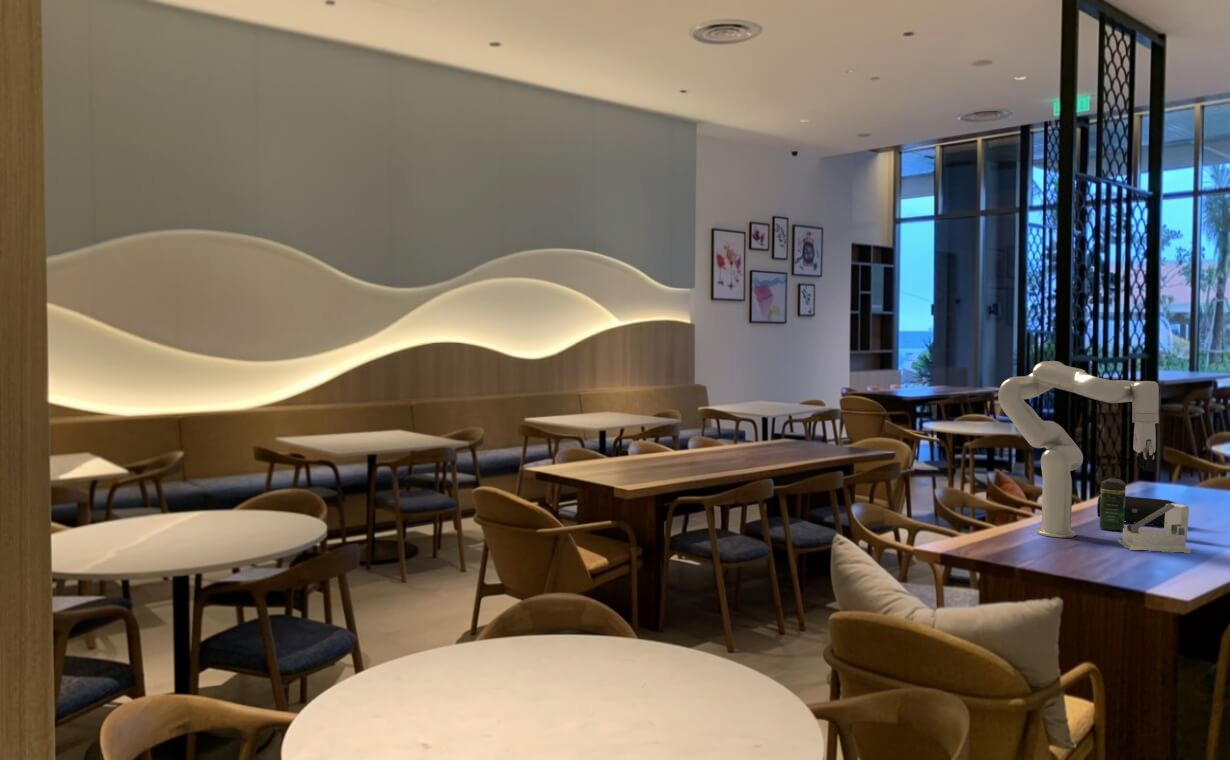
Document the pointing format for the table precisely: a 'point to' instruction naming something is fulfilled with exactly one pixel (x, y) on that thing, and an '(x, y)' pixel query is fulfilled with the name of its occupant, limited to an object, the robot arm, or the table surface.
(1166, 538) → the block
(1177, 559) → the table surface
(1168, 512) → the skincare box
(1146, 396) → the robot arm
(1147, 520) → the strap
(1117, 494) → the coffee jar
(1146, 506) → the portable speaker
